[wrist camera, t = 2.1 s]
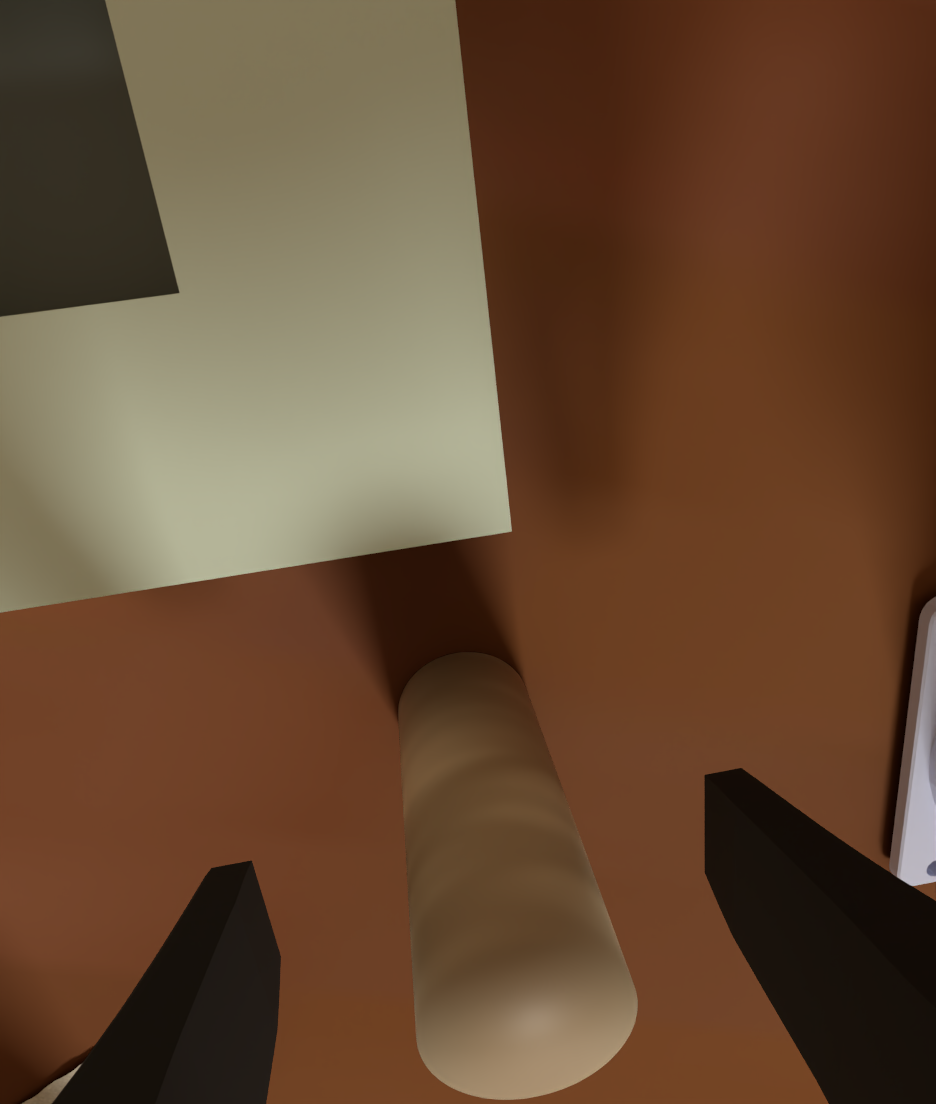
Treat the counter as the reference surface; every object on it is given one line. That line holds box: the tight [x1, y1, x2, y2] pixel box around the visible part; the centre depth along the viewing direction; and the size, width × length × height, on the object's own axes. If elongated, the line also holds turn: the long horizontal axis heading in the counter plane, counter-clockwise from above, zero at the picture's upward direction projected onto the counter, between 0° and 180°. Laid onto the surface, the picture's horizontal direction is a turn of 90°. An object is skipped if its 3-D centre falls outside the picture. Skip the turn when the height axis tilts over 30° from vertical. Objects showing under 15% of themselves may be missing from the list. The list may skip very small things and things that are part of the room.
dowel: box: [398, 652, 638, 1100], centre depth 12 cm, size 3×3×7 cm
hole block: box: [0, 0, 512, 612], centre depth 10 cm, size 12×12×3 cm
